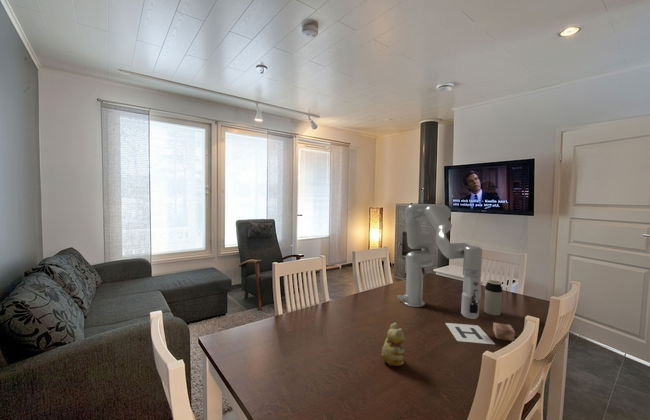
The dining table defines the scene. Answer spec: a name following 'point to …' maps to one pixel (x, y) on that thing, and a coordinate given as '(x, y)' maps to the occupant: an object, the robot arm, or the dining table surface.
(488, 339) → the letter card
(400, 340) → the decorative figurine
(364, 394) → the dining table surface
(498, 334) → the brown block
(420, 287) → the robot arm
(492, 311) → the travel mug
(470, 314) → the can
